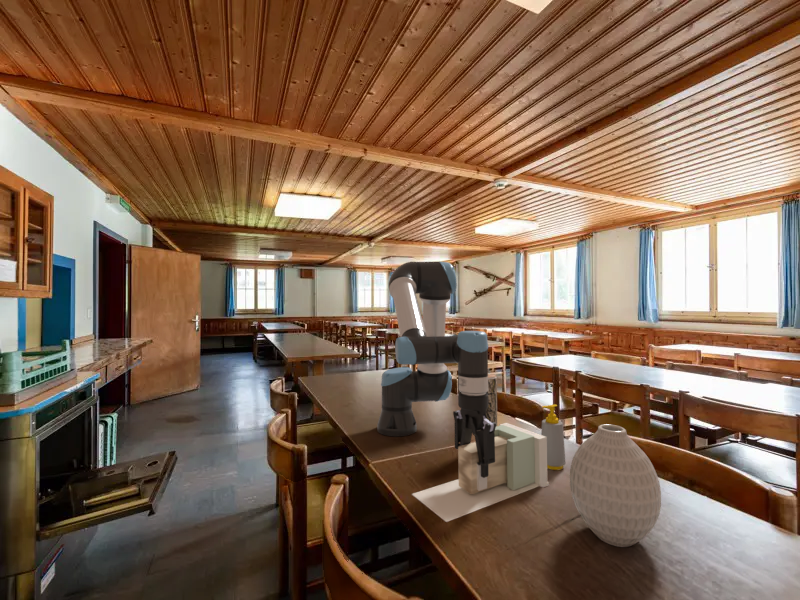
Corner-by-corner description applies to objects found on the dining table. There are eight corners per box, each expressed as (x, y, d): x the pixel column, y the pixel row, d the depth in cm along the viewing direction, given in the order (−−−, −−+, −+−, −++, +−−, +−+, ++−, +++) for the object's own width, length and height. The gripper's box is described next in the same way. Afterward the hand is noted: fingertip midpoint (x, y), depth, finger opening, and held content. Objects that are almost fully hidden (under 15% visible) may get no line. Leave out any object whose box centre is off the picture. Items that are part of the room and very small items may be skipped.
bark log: (498, 458, 115) (497, 378, 115) (476, 457, 116) (475, 377, 116) (497, 450, 121) (496, 373, 122) (476, 448, 123) (475, 373, 123)
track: (411, 497, 92) (411, 445, 92) (508, 465, 110) (507, 422, 110) (446, 525, 80) (445, 466, 80) (548, 485, 98) (548, 436, 98)
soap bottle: (535, 463, 111) (534, 403, 112) (553, 459, 114) (552, 401, 114) (551, 472, 105) (550, 409, 105) (571, 468, 107) (570, 406, 107)
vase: (596, 506, 87) (595, 411, 88) (677, 543, 74) (675, 431, 74) (554, 529, 78) (552, 424, 79) (636, 576, 65) (634, 448, 65)
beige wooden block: (458, 485, 94) (458, 446, 94) (501, 471, 102) (500, 435, 102) (471, 494, 90) (471, 453, 90) (515, 479, 98) (514, 441, 98)
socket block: (482, 473, 102) (482, 429, 103) (503, 466, 107) (502, 424, 107) (513, 490, 93) (512, 442, 93) (534, 482, 97) (534, 436, 97)
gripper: (439, 387, 100) (440, 473, 100) (487, 402, 84) (488, 504, 84) (461, 383, 104) (462, 467, 103) (510, 397, 88) (512, 495, 88)
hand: (474, 483), depth 94 cm, fingers closed on beige wooden block, 5 cm apart
